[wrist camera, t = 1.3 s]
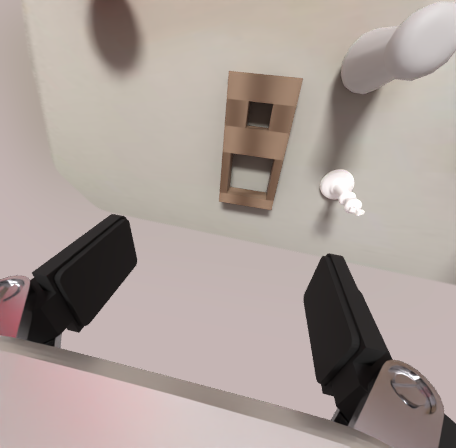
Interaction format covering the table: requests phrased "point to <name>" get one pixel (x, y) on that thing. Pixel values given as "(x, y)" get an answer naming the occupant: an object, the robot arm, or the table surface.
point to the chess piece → (341, 190)
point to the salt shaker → (402, 49)
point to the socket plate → (257, 131)
